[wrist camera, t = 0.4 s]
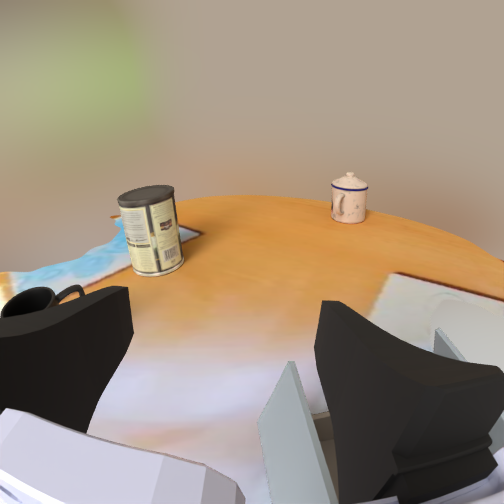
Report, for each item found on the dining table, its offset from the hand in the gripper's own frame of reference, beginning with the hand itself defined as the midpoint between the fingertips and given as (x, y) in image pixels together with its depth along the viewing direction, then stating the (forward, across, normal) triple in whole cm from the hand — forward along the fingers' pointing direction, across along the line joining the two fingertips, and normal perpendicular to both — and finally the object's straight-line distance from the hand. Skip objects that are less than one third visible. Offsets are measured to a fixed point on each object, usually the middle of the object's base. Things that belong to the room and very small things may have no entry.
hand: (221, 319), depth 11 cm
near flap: (-1, -4, +10) cm, 11 cm away
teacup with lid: (+63, -23, +7) cm, 68 cm away
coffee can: (+44, +17, +15) cm, 49 cm away
